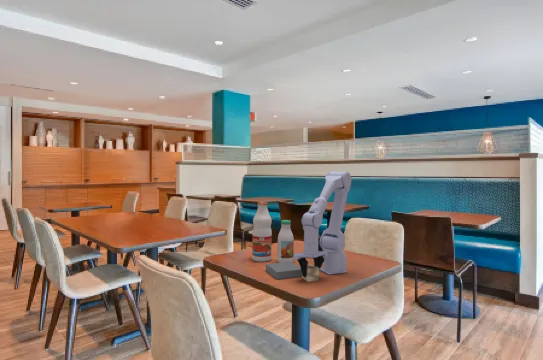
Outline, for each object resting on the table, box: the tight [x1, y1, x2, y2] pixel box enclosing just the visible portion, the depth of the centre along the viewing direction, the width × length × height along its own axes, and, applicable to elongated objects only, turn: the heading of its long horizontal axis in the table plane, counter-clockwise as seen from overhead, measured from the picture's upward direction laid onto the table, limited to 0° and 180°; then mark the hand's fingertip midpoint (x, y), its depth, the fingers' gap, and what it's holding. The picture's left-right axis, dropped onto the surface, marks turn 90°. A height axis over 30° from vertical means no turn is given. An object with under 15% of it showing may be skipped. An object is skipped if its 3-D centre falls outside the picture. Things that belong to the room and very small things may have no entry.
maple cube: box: [301, 264, 320, 282], centre depth 132 cm, size 5×5×5 cm
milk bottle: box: [276, 219, 295, 263], centre depth 156 cm, size 8×8×20 cm
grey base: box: [265, 262, 302, 280], centre depth 139 cm, size 12×12×3 cm
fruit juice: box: [251, 201, 273, 263], centre depth 160 cm, size 9×9×28 cm
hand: (310, 275), depth 132 cm, fingers closed on maple cube, 5 cm apart
